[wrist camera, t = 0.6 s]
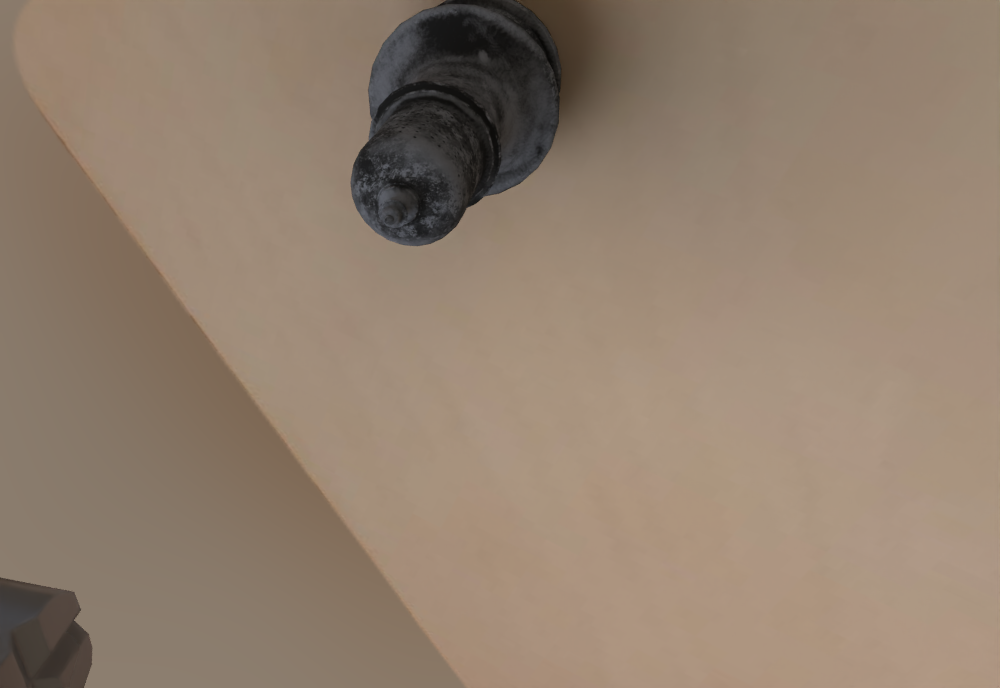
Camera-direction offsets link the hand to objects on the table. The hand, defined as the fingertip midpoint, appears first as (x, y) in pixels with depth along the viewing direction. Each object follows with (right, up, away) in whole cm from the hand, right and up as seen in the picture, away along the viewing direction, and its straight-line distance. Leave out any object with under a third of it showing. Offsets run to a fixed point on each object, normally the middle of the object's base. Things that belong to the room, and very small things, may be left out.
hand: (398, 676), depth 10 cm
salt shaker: (+1, +13, +19) cm, 23 cm away
